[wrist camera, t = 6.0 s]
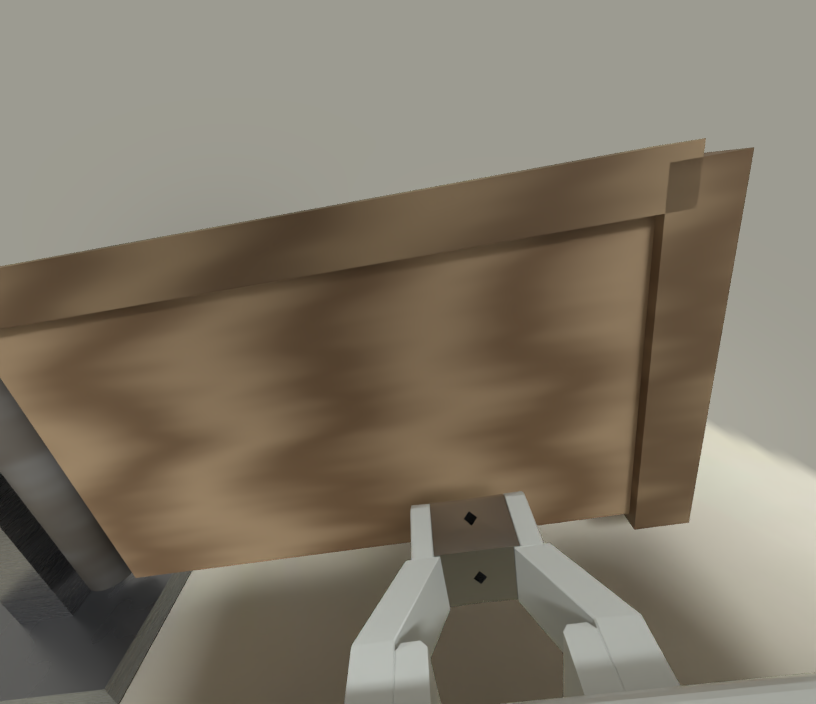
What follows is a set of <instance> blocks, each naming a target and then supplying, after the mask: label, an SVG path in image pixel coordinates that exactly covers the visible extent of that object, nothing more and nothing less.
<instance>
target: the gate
mask: <svg viewBox="0 0 816 704" xmlns="http://www.w3.org/2000/svg"><path fill="white" fill-rule="evenodd" d="M704 148H705V138H704V139H698V140H691V141H685V142H679V143H673V144H665V145H659V146H653V147H648V148H642V149H637V150H631V151H626V152H620V153H615V154H609V155H604V156H598V157H593V158H588V159H582V160H577V161H572V162H566V163H561V164H555V165H550V166H544V167H539V168H533V169H528V170H522V171H517V172H512V173H506V174H501V175H495V176H490V177H485V178H479V179H473V180H468V181H463V182H457V183H452V184H447V185H441V186H435V187H430V188H425V189H419V190H413V191H408V192H402V193H397V194H392V195H386V196H381V197H375V198H370V199H364V200H359V201H353V202H348V203H343V204H337V205H332V206H326V207H321V208H315V209H310V210H304V211H299V212H294V213H288V214H283V215H277V216H272V217H266V218H261V219H256V220H250V221H245V222H239V223H234V224H228V225H223V226H218V227H212V228H206V229H201V230H196V231H190V232H185V233H180V234H174V235H169V236H163V237H158V238H152V239H147V240H141V241H136V242H131V243H125V244H119V245H115V246H108V247H103V248H98V249H92V250H87V251H82V252H76V253H70V254H65V255H60V256H54V257H49V258H43V259H38V260H32V261H27V262H21V263H16V264H10V265H5V266H0V472H1V474H2V475H3V476H4V478H5V479H6V480H7V482H8V483H9V484H10V485H11V487H12V488H13V489H14V491H15V492H16V493H17V495H18V496H19V497H20V499H21V500H22V501H23V503H24V504H25V505H26V506H27V508H28V509H29V510H30V512H31V513H32V514H33V516H34V517H35V518H36V520H37V521H38V522H39V524H40V525H41V526H42V527H43V529H44V530H45V531H46V533H47V534H48V535H49V537H50V538H51V539H52V541H53V542H54V543H55V544H56V546H57V547H58V548H59V550H60V551H61V552H62V554H63V555H64V556H65V558H66V559H67V560H68V562H69V563H70V564H71V565H72V567H73V568H74V569H75V571H76V572H77V573H78V575H79V576H80V577H81V579H82V580H83V581H84V583H85V584H86V585H87V586H88V588H89V589H90V590H91V591H103V590H106V589H109V588H111V587H113V586H115V585H117V584H118V583H120V582H121V581H123V580H124V579H126V578H127V577H128V576H129V575H130V574H131V573H133V575H134V576H135V578H140V577H147V576H155V575H162V574H170V573H178V572H185V571H193V570H201V569H208V568H216V567H224V566H231V565H239V564H246V563H254V562H262V561H269V560H277V559H285V558H292V557H300V556H308V555H315V554H323V553H331V552H338V551H346V550H353V549H361V548H369V547H376V546H384V545H392V544H399V543H407V542H411V522H410V510H411V505H421V504H430V503H436V502H445V501H455V500H464V499H469V498H476V497H483V496H490V495H497V494H504V493H511V492H518V491H522V492H523V493H524V494H525V496H526V499H527V501H528V504H529V507H530V509H531V512H532V514H533V517H534V519H535V522H536V524H537V525H544V524H552V523H560V522H567V521H575V520H583V519H590V518H598V517H606V516H613V515H621V514H624V515H625V516H626V518H627V519H628V521H629V522H630V524H631V525H632V527H633V528H634V529H642V528H650V527H658V526H666V525H673V524H681V523H689V518H690V512H691V506H692V501H693V495H694V489H695V484H696V478H697V472H698V466H699V461H700V455H701V449H702V443H703V438H704V432H705V426H706V421H707V415H708V409H709V403H710V397H711V392H712V386H713V380H714V374H715V369H716V363H717V358H718V352H719V346H720V340H721V335H722V329H723V323H724V318H725V311H726V306H727V300H728V294H729V288H730V283H731V277H732V272H733V266H734V260H735V255H736V249H737V243H738V237H739V231H740V226H741V220H742V214H743V209H744V203H745V197H746V191H747V186H748V180H749V174H750V169H751V163H752V157H753V151H754V148H745V149H736V150H726V151H716V152H707V153H704Z"/></svg>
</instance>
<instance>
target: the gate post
mask: <svg viewBox="0 0 816 704" xmlns="http://www.w3.org/2000/svg"><path fill="white" fill-rule="evenodd" d="M190 573H191V571H185V572H178V573H170V574H162V575H155V576H147V577H140V578H135V576H134V575H133V573H131V574H130V575H129V576H128V577H127V578H126V579H124V580H123V581H121V582H120V583H118V584H117V585H115V586H113V587H111V588H109V589H106V590H103V591H91V590H90V589H89V588H88V586H87V585H86V584H85V583H84V581H83V580H82V579H81V577H80V576H79V575H78V573H77V572H76V571H75V569H74V568H73V567H72V565H71V564H70V563H69V562H68V560H67V559H66V558H65V556H64V555H63V554H62V552H61V551H60V550H59V548H58V547H57V546H56V544H55V543H54V542H53V541H52V539H51V538H50V537H49V535H48V534H47V533H46V531H45V530H44V529H43V527H42V526H41V525H40V524H39V522H38V521H37V520H36V518H35V517H34V516H33V514H32V513H31V512H30V510H29V509H28V508H27V506H26V505H25V504H24V503H23V501H22V500H21V499H20V497H19V496H18V495H17V493H16V492H15V491H14V489H13V488H12V487H11V485H10V484H9V483H8V482H7V480H6V479H5V478H4V476H3V475H2V474H1V472H0V704H119V702H120V701H121V699H122V697H123V695H124V693H125V691H126V690H127V688H128V686H129V684H130V682H131V680H132V679H133V677H134V675H135V673H136V671H137V670H138V668H139V666H140V664H141V662H142V660H143V659H144V657H145V655H146V653H147V651H148V649H149V648H150V646H151V644H152V642H153V640H154V639H155V637H156V635H157V633H158V631H159V629H160V628H161V626H162V624H163V622H164V620H165V618H166V617H167V615H168V613H169V611H170V609H171V608H172V606H173V604H174V602H175V600H176V598H177V597H178V595H179V593H180V591H181V589H182V587H183V586H184V584H185V582H186V580H187V578H188V577H189V575H190Z"/></svg>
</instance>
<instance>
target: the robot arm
mask: <svg viewBox="0 0 816 704" xmlns="http://www.w3.org/2000/svg"><path fill="white" fill-rule="evenodd" d="M410 522H411V560H407V561H405V562H404V564H403V565H402V567H401V569H400V570H399V572H398V573H397V575H396V576H395V578H394V580H393V581H392V583H391V584H390V586H389V587H388V589H387V591H386V592H385V594H384V595H383V597H382V598H381V600H380V602H379V603H378V605H377V606H376V608H375V609H374V611H373V613H372V614H371V616H370V617H369V619H368V620H367V622H366V624H365V625H364V627H363V628H362V630H361V631H360V633H359V635H358V636H357V638H356V639H355V641H354V643H353V644H352V646H351V652H350V660H349V669H348V677H347V685H346V693H345V702H344V704H441V701H440V697H439V693H438V689H437V684H436V680H435V676H434V672H433V668H432V664H431V657H432V654H433V652H434V649H435V647H436V644H437V642H438V639H439V637H440V634H441V632H442V629H443V627H444V624H445V622H446V619H447V617H448V614H449V611H450V607H455V606H462V605H469V604H476V603H482V602H483V601H484V602H494V601H505V600H517V599H518V600H519V602H520V604H521V605H522V606H523V607H524V608H525V609H526V610H527V612H528V613H529V614H530V615H531V616H532V617H533V619H534V620H535V621H536V622H537V623H538V624H539V626H540V627H541V628H542V629H543V630H544V631H545V633H546V634H547V635H548V636H549V637H550V638H551V639H552V641H553V642H554V643H555V644H556V645H557V646H558V648H559V649H560V650H561V651H562V652H563V697H562V698H552V699H542V700H532V701H522V702H512V703H502V704H816V672H814V673H804V674H794V675H784V676H774V677H764V678H754V679H744V680H734V681H724V682H714V683H704V684H694V685H684V686H680V684H679V682H678V680H677V678H676V677H675V675H674V673H673V671H672V669H671V668H670V666H669V664H668V662H667V660H666V658H665V657H664V655H663V653H662V651H661V649H660V648H659V646H658V644H657V642H656V640H655V638H654V637H653V635H652V633H651V631H650V629H649V628H648V626H647V624H646V622H645V620H644V618H643V617H642V615H641V614H640V613H639V612H637V611H636V610H635V609H634V608H632V607H631V606H630V605H628V604H627V603H626V602H625V601H623V600H622V599H621V598H620V597H618V596H617V595H616V594H614V593H613V592H612V591H611V590H609V589H608V588H607V587H606V586H604V585H603V584H602V583H600V582H599V581H598V580H597V579H595V578H594V577H593V576H592V575H590V574H589V573H588V572H586V571H585V570H584V569H583V568H581V567H580V566H579V565H578V564H576V563H575V562H574V561H572V560H571V559H570V558H569V557H567V556H566V555H565V554H564V553H562V552H561V551H560V550H558V549H557V548H556V547H555V546H553V545H552V544H551V543H544V542H543V540H542V537H541V535H540V532H539V530H538V527H537V524H536V522H535V519H534V517H533V514H532V512H531V509H530V507H529V504H528V501H527V499H526V496H525V494H524V493H523V492H522V491H518V492H511V493H504V494H497V495H490V496H483V497H476V498H469V499H464V500H455V501H445V502H436V503H430V504H421V505H411V510H410Z"/></svg>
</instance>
